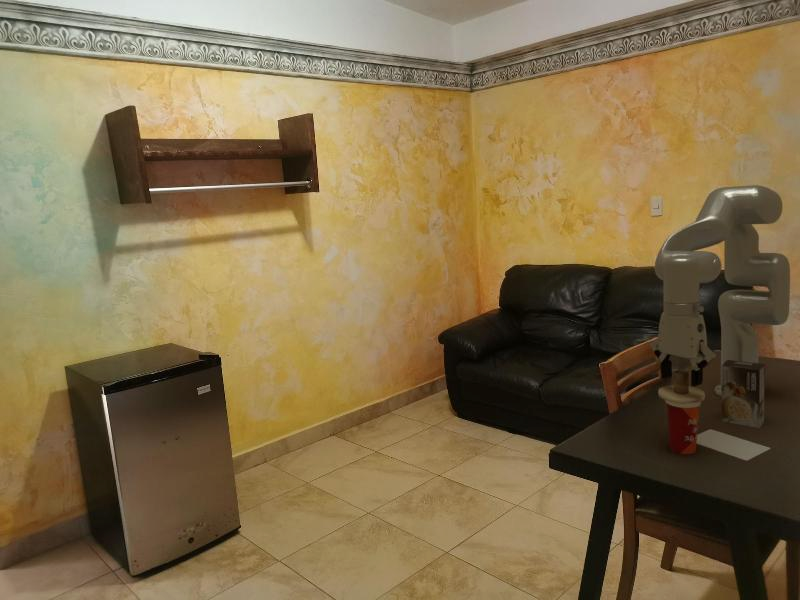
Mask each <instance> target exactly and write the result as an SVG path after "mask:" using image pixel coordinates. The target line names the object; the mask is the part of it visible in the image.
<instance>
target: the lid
mask: <svg viewBox="0 0 800 600" xmlns="http://www.w3.org/2000/svg"><path fill="white" fill-rule="evenodd" d="M689 380H690V371H688V370H685V369H674V370H673V384H670V385H666V386H662V387H659V389H658V397H659V398H660V399H662V400H664V401H665V400H666V401H670V402H674V403H684V404H689V403H697V402H701V403H702V402H703V401H704V400H705V398H706V396H705V391H704V390H703V389H700V388H699V387H696V386H695V387H693V386H692V385H689V384H690V382H689ZM666 401H665V402H666Z"/></svg>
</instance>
